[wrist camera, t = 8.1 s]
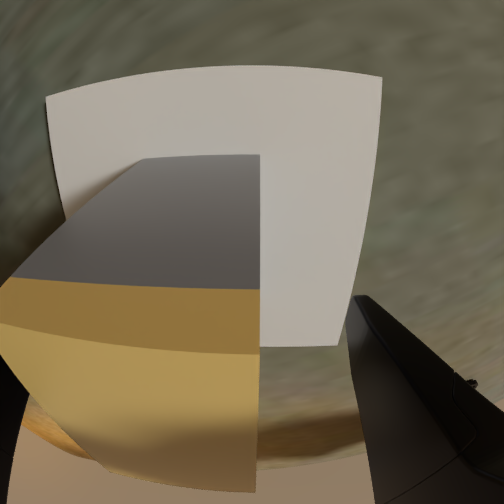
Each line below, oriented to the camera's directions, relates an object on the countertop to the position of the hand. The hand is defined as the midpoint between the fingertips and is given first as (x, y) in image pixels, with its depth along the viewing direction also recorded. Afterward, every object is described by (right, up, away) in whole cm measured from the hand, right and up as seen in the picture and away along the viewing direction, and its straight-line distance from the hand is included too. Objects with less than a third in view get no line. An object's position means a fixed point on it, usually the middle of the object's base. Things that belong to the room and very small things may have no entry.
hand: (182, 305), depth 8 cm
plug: (0, +2, +3) cm, 4 cm away
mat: (0, +2, +4) cm, 4 cm away
